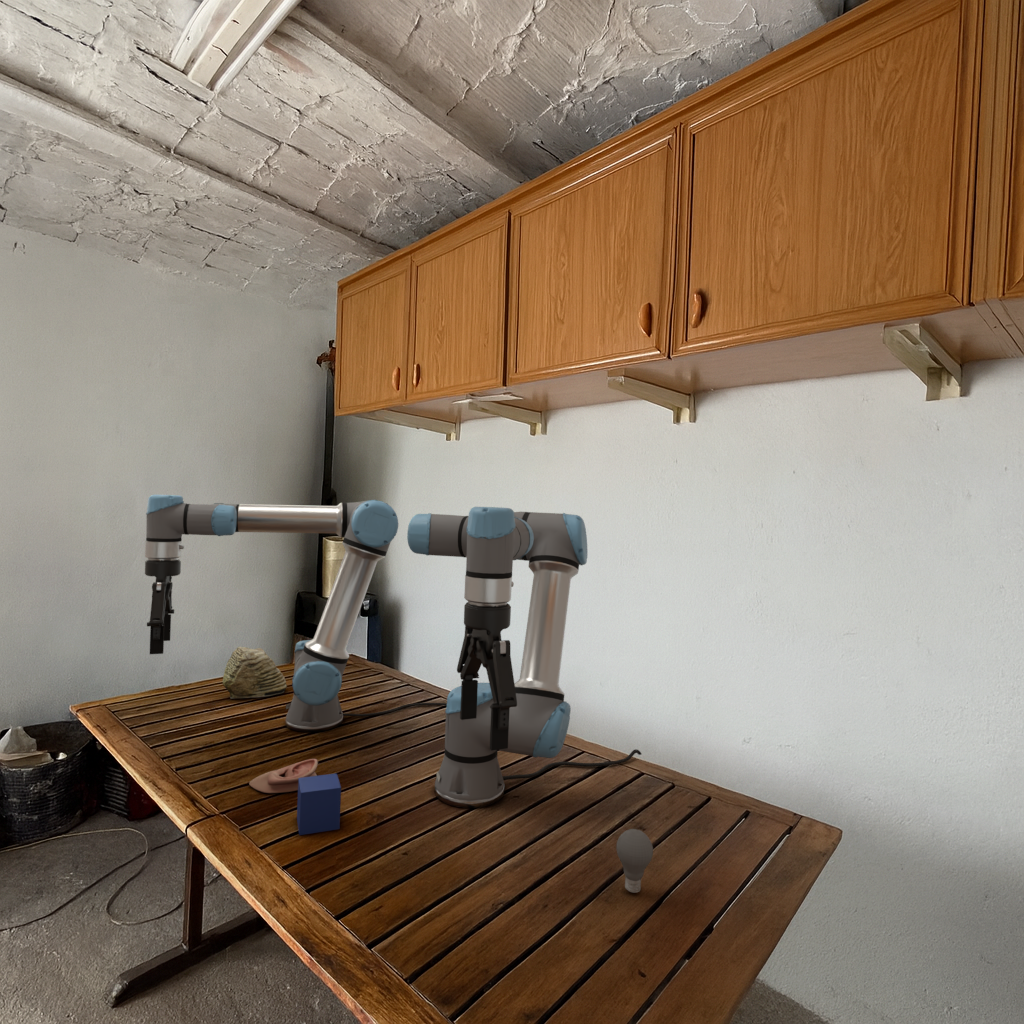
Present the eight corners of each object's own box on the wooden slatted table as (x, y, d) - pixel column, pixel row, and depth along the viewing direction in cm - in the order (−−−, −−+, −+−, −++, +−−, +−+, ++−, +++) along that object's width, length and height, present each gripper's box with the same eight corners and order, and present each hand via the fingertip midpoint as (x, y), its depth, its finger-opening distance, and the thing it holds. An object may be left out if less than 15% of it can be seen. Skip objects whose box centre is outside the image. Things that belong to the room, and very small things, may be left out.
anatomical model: (241, 770, 135) (272, 750, 146) (240, 789, 135) (271, 767, 146) (297, 779, 132) (324, 757, 144) (297, 798, 132) (324, 775, 144)
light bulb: (610, 879, 108) (613, 822, 108) (644, 879, 109) (647, 822, 109) (619, 902, 102) (622, 840, 102) (655, 901, 103) (658, 840, 103)
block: (299, 835, 118) (300, 792, 118) (296, 818, 124) (298, 777, 124) (339, 829, 121) (341, 787, 121) (335, 812, 127) (336, 773, 127)
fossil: (218, 695, 195) (220, 647, 195) (278, 685, 208) (279, 640, 207) (228, 703, 189) (230, 653, 188) (289, 692, 201) (290, 645, 201)
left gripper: (175, 564, 142) (172, 658, 142) (185, 554, 165) (182, 635, 165) (136, 564, 139) (133, 660, 139) (152, 553, 162) (150, 636, 162)
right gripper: (543, 616, 92) (537, 760, 93) (481, 590, 115) (477, 705, 116) (495, 618, 89) (489, 767, 90) (442, 591, 112) (437, 709, 113)
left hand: (160, 647), depth 152 cm, fingers open, 13 cm apart
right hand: (482, 732), depth 103 cm, fingers open, 13 cm apart
